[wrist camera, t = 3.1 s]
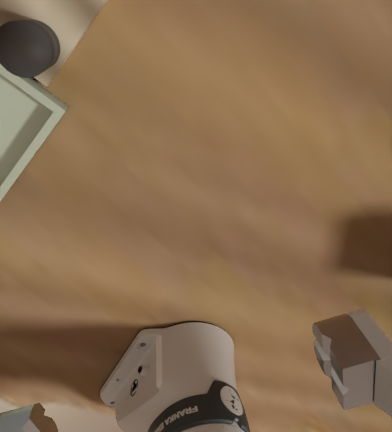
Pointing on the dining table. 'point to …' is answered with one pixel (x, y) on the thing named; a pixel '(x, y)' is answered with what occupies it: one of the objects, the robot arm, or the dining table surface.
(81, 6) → the spacer board
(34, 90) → the tray
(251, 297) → the dining table surface
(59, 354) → the dining table surface
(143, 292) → the dining table surface
